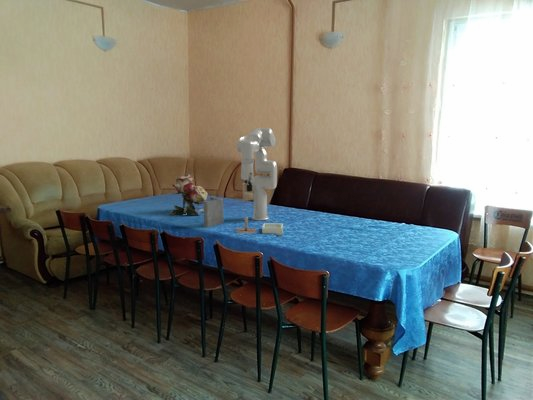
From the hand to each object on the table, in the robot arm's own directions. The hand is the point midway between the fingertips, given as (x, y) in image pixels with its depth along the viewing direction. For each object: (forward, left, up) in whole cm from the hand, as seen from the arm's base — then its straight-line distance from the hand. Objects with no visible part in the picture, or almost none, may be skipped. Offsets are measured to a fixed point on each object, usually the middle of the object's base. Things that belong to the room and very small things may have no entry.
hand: (247, 190), depth 272 cm
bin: (0, +16, -27) cm, 31 cm away
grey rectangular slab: (-19, -26, -28) cm, 43 cm away
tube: (0, 0, -6) cm, 6 cm away
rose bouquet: (-59, -53, -28) cm, 84 cm away
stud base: (0, -1, -27) cm, 27 cm away
